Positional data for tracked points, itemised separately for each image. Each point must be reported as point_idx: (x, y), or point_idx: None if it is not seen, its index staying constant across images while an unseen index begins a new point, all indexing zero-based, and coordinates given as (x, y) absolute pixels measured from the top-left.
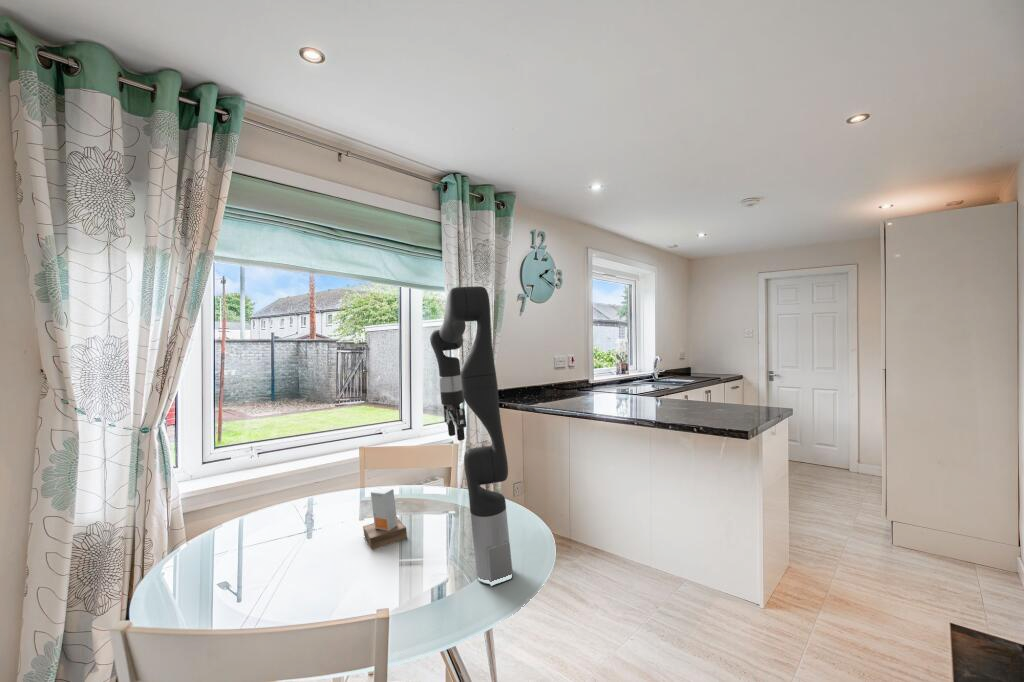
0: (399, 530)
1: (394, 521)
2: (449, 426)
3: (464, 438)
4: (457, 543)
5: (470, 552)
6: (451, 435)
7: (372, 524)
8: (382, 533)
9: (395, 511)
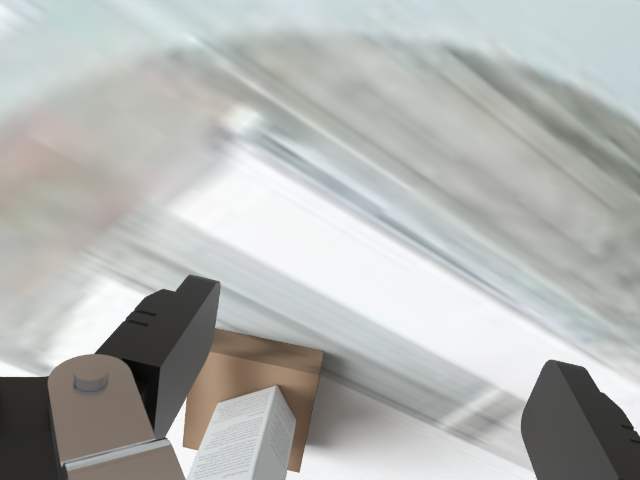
0: (315, 392)
1: (280, 410)
2: (161, 435)
3: (582, 369)
4: (517, 268)
5: (616, 278)
6: (213, 330)
7: (193, 425)
8: (296, 438)
9: (269, 426)
